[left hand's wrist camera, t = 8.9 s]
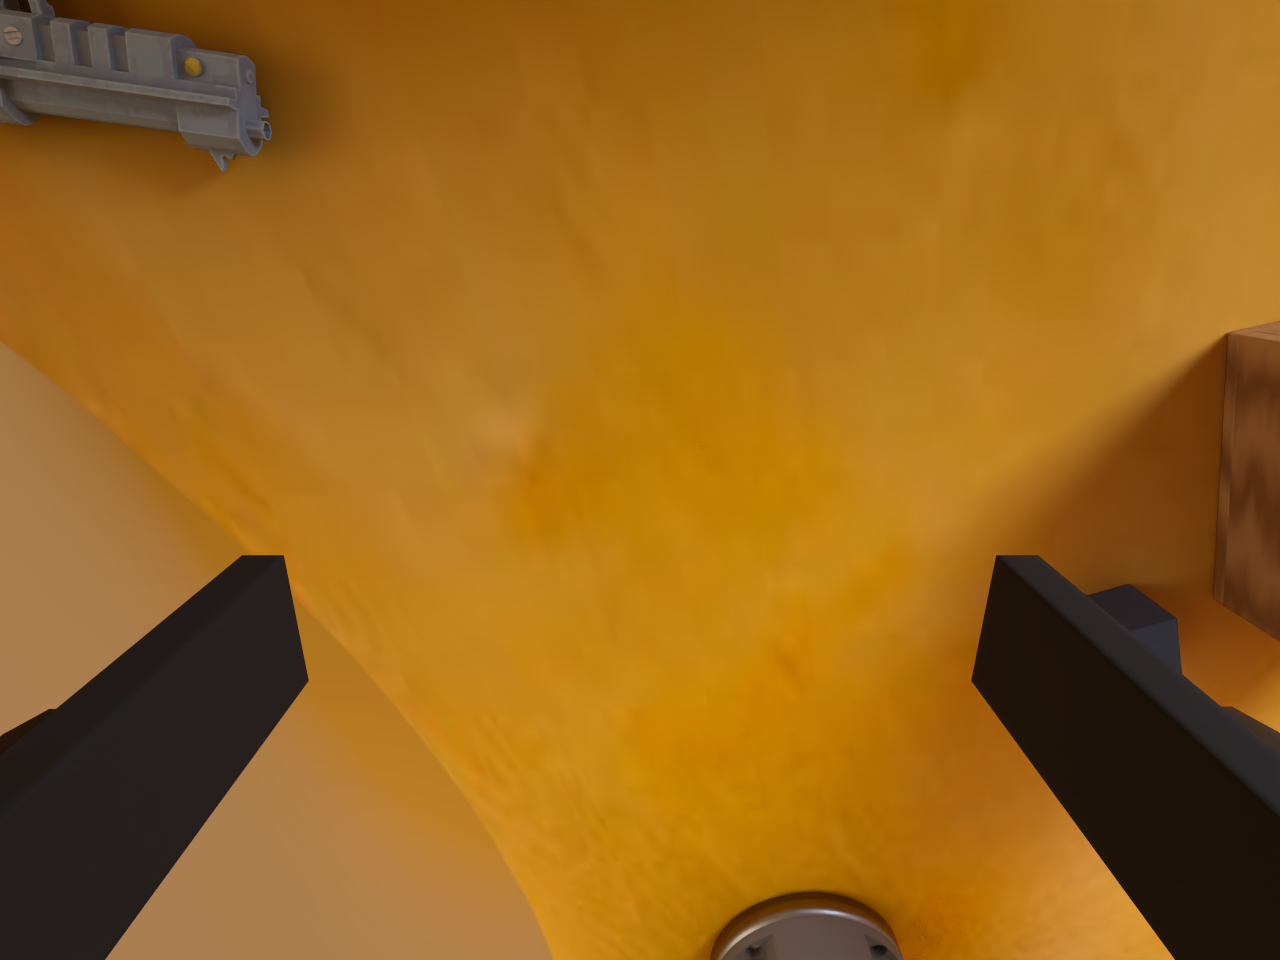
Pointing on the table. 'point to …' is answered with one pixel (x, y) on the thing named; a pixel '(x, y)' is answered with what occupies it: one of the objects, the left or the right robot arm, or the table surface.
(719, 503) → the table surface
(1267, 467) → the chest
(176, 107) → the toy gun
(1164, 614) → the block
